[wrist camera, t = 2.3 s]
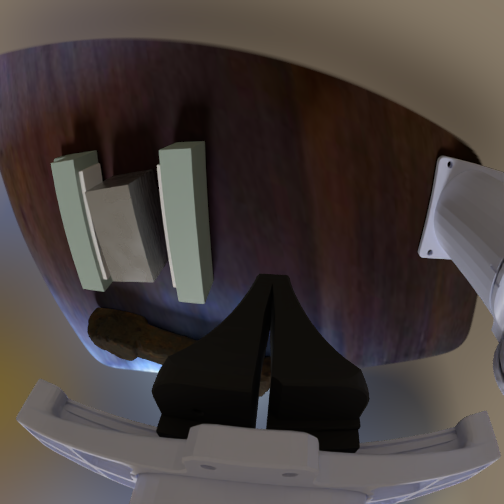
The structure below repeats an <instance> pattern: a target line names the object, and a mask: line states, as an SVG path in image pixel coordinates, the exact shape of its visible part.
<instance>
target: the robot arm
mask: <svg viewBox="0 0 504 504" xmlns="http://www.w3.org/2000/svg"><path fill="white" fill-rule="evenodd" d="M449 161H450V166H449V167H448V166H447V164H448V162H449ZM429 250H431V251H430V252H429V253H427V252H428V251H429ZM418 254H419V255H420V256H421V257H423V258H438V259H452V261H453V262H454V263H455V264H456V266H457V267H458V268H459V270H460V271H461V272H462V273H463V275H464V276H465V277H466V279H467V280H468V281H469V283H470V284H471V285H472V287H473V288H474V289H475V291H476V292H477V294H478V295H479V296H480V298H481V299H482V301H483V302H484V304H485V305H486V307H487V308H488V309H489V311H490V312H491V314H492V315H493V318H494V323H493V326H492V329H491V330H492V332H493V333H494V335H495V337H496V338H497V340H498V342H499V344H498V346H497V348H496V351H495V353H494V359H493V370H494V375H495V379H496V382H497V384H498V387H499V389H500V390H501V392H502V394H503V395H504V172H502V171H498V170H496V169H492V168H489V167H485V166H482V165H479V164H475V163H471V162H467V161H464V160H460V159H456V158H451V157H447V156H440V157H439V158H438V160H437V165H436V171H435V177H434V183H433V188H432V194H431V199H430V203H429V208H428V213H427V217H426V221H425V225H424V229H423V233H422V237H421V241H420V245H419V248H418ZM269 332H270V343H271V382H270V394H269V405H268V416H267V426H266V429H255V428H256V418H257V409H258V399H259V390H260V380H261V372H262V366H263V362H264V357H265V352H266V347H267V342H268V337H269ZM152 394H153V397H154V399H155V401H156V403H157V405H158V407H159V409H160V411H161V413H162V414H161V417H160V420H159V423H158V426H157V427H154V426H150V425H146V424H142V423H139V422H135V421H132V420H128V419H125V418H122V417H118V416H115V415H112V414H109V413H106V412H103V411H100V410H97V409H94V408H92V407H89V406H86V405H84V404H81V403H79V402H76V401H74V400H71V399H69V398H67V396H66V394H65V393H64V391H62V389H61V388H59V387H58V386H56V385H54V384H52V383H49V382H47V381H45V380H43V379H39V380H38V382H37V383H36V385H35V387H34V388H33V390H32V391H31V393H30V395H29V396H28V398H27V400H26V402H25V403H24V405H23V407H22V408H21V410H20V412H19V413H18V415H17V417H16V420H17V421H18V422H19V423H20V424H21V425H22V426H23V427H24V428H25V429H27V430H28V431H29V432H30V433H31V434H32V435H33V436H34V437H35V438H37V439H38V440H39V441H40V442H41V443H42V444H44V445H45V446H46V447H48V448H50V449H51V450H53V451H55V452H57V453H59V454H60V455H62V456H64V457H66V458H68V459H70V460H72V461H74V462H75V463H78V464H79V465H81V466H83V467H85V468H87V469H89V470H91V471H93V472H96V473H98V474H100V475H102V476H104V477H106V478H108V479H111V480H113V481H116V482H118V483H120V484H123V485H125V486H128V487H131V488H133V489H134V490H133V493H132V496H131V500H130V503H129V504H395V503H399V502H403V501H407V500H410V499H414V498H417V497H420V496H424V495H427V494H429V493H433V492H436V491H439V490H442V489H444V488H447V487H450V486H453V485H455V484H458V483H461V482H463V481H466V480H468V479H469V478H471V477H473V476H474V475H476V474H477V473H479V472H480V471H482V470H484V469H485V468H486V467H488V466H489V465H491V464H492V463H494V462H495V461H496V460H498V459H499V458H500V457H501V455H500V451H499V447H498V444H497V440H496V437H495V434H494V431H493V428H492V425H491V422H490V419H489V416H488V413H487V411H482V412H479V413H476V414H472V415H469V416H466V417H465V418H463V419H462V420H461V421H460V422H459V423H458V424H457V425H456V426H455V427H453V428H449V429H445V430H440V431H436V432H431V433H427V434H422V435H416V436H411V437H405V438H399V439H392V440H384V441H376V442H367V443H359V433H358V429H359V428H360V419H359V417H360V416H361V414H362V413H363V411H364V409H365V408H366V406H367V404H368V402H369V392H368V387H367V384H366V381H365V378H364V376H363V373H362V371H361V369H359V368H358V367H357V366H355V365H354V364H352V363H351V362H350V361H348V360H347V359H345V358H344V357H343V356H342V355H340V354H339V353H338V352H337V351H336V350H335V349H334V348H333V347H332V346H331V345H330V344H329V343H328V342H327V341H326V340H325V339H324V338H323V337H322V335H321V334H320V333H319V332H318V331H317V329H316V328H315V327H314V325H313V324H312V323H311V321H310V320H309V318H308V317H307V315H306V313H305V312H304V310H303V308H302V307H301V305H300V303H299V301H298V299H297V297H296V295H295V293H294V290H293V288H292V285H291V282H290V278H289V277H288V276H287V275H273V274H259V275H258V276H257V277H256V280H255V282H254V283H253V285H252V287H251V288H250V290H249V291H248V293H247V294H246V295H245V297H244V298H243V300H242V301H241V302H240V303H239V304H238V306H237V307H236V308H235V309H234V310H233V312H232V313H231V314H230V315H229V316H228V317H227V318H226V319H225V320H224V321H223V322H222V323H220V324H219V325H218V326H217V327H216V328H215V329H213V330H212V331H211V332H210V333H208V334H207V335H206V336H204V337H203V338H201V339H200V340H198V341H197V342H195V343H193V344H192V345H190V346H188V347H187V348H185V349H183V350H181V351H179V352H176V353H174V354H172V355H170V356H168V357H167V359H166V360H165V362H164V364H163V365H162V367H161V369H160V370H159V372H158V375H157V377H156V380H155V382H154V385H153V388H152Z"/></svg>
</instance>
